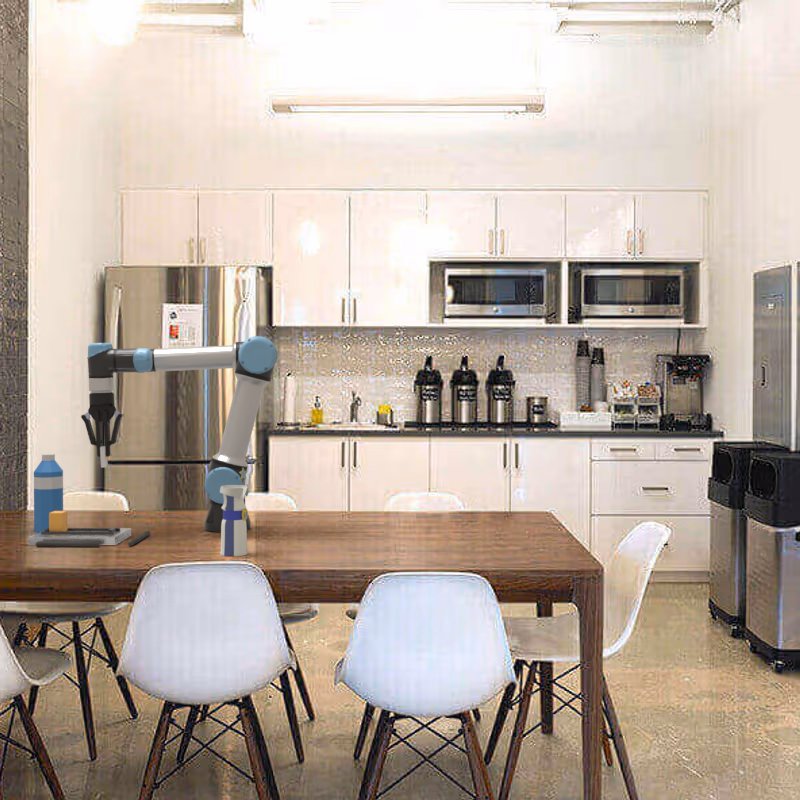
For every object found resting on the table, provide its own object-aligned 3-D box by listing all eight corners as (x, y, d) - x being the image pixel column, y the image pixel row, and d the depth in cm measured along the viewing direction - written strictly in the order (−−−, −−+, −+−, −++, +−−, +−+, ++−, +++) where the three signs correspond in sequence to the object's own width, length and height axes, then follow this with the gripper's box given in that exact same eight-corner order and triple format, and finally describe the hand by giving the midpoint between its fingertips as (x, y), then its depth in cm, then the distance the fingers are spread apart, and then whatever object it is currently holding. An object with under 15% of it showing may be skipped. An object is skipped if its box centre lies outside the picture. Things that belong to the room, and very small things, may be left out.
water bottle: (54, 533, 326) (53, 455, 325) (28, 532, 328) (27, 455, 327) (69, 528, 335) (68, 453, 334) (43, 527, 337) (43, 453, 336)
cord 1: (100, 546, 301) (99, 541, 300) (98, 547, 299) (98, 542, 299) (36, 546, 301) (36, 541, 301) (34, 547, 299) (34, 541, 299)
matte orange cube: (67, 530, 314) (67, 510, 314) (62, 532, 309) (62, 513, 309) (54, 530, 314) (54, 510, 314) (49, 532, 309) (48, 513, 309)
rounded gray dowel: (145, 535, 321) (145, 530, 321) (150, 535, 321) (150, 530, 321) (127, 546, 300) (127, 541, 300) (132, 546, 300) (132, 541, 300)
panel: (131, 535, 320) (131, 524, 320) (115, 545, 302) (115, 532, 302) (49, 535, 320) (49, 523, 320) (28, 545, 302) (28, 532, 302)
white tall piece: (253, 551, 292) (253, 465, 292) (242, 556, 284) (242, 468, 283) (227, 550, 294) (226, 465, 294) (215, 555, 286) (215, 467, 285)
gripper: (125, 391, 321) (128, 465, 322) (84, 392, 321) (86, 466, 321) (119, 391, 313) (122, 467, 314) (77, 392, 313) (80, 468, 314)
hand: (104, 466), depth 318 cm, fingers closed
